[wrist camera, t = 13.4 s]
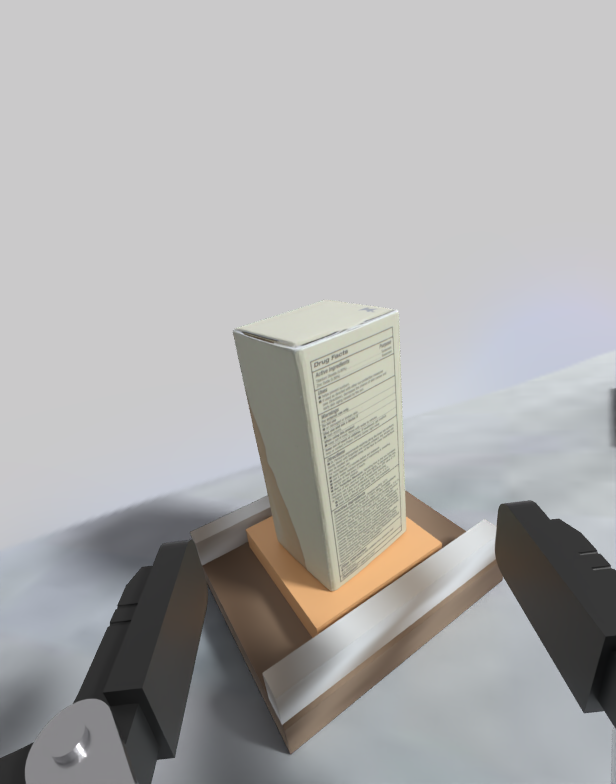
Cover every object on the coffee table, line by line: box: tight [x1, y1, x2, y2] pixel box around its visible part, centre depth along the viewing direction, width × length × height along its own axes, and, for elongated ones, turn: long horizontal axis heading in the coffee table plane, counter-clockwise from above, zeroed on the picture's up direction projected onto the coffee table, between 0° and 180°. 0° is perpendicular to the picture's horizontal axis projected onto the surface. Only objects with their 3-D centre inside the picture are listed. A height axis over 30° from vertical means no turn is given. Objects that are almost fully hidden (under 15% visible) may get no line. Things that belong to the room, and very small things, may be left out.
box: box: [233, 300, 406, 591], centre depth 17 cm, size 5×4×11 cm
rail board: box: [190, 491, 503, 754], centre depth 20 cm, size 12×10×3 cm
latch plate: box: [246, 516, 442, 638], centre depth 20 cm, size 7×7×1 cm
